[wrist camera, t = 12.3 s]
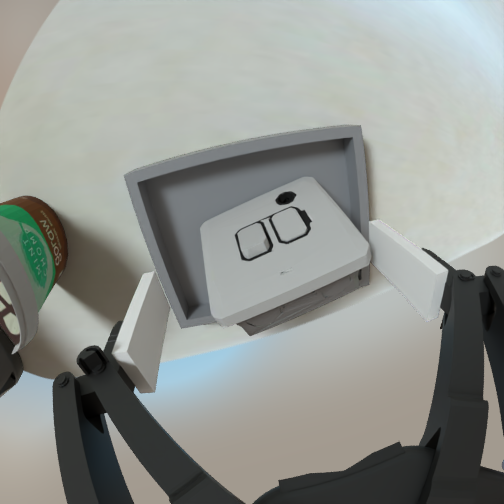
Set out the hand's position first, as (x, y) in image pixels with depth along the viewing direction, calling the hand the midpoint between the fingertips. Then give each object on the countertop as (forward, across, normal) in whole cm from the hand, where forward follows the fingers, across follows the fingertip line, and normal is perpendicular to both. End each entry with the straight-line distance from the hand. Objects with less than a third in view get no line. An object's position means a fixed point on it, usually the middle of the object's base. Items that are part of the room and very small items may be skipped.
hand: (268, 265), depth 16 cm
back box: (+7, 0, 0) cm, 7 cm away
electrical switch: (+7, +1, 0) cm, 7 cm away
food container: (+8, -19, +4) cm, 21 cm away
